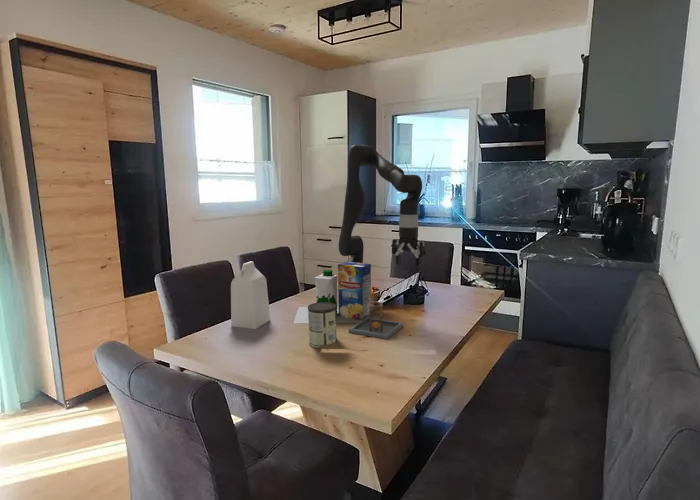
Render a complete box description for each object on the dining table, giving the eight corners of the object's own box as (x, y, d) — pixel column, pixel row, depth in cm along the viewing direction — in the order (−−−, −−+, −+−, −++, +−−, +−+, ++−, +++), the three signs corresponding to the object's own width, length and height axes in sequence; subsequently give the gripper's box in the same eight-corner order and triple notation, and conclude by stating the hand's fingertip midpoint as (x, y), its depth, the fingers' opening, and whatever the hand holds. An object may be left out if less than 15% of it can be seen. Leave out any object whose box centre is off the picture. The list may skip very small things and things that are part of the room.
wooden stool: (369, 331, 164) (369, 303, 162) (369, 326, 169) (369, 300, 167) (382, 331, 163) (382, 303, 162) (382, 326, 168) (382, 300, 166)
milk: (255, 329, 171) (252, 266, 167) (231, 326, 175) (227, 264, 171) (270, 319, 182) (267, 260, 178) (247, 317, 186) (244, 259, 182)
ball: (371, 329, 165) (371, 322, 165) (374, 327, 168) (374, 320, 167) (378, 330, 164) (378, 323, 163) (381, 328, 167) (381, 321, 166)
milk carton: (339, 314, 189) (339, 270, 186) (331, 320, 181) (330, 274, 178) (322, 312, 193) (321, 269, 189) (313, 317, 184) (312, 273, 181)
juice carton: (338, 319, 182) (337, 264, 179) (347, 314, 189) (346, 261, 185) (362, 323, 176) (362, 267, 173) (371, 318, 183) (371, 264, 179)
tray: (348, 335, 163) (348, 329, 162) (366, 323, 177) (366, 317, 176) (387, 342, 155) (387, 335, 155) (402, 328, 169) (402, 322, 169)
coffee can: (315, 336, 162) (314, 301, 160) (340, 339, 159) (340, 303, 156) (304, 346, 152) (302, 308, 150) (330, 349, 149) (329, 311, 147)
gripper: (388, 225, 169) (388, 265, 171) (419, 227, 160) (419, 269, 163) (398, 224, 175) (397, 262, 177) (429, 225, 166) (428, 266, 169)
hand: (408, 265), depth 170 cm, fingers open, 8 cm apart
